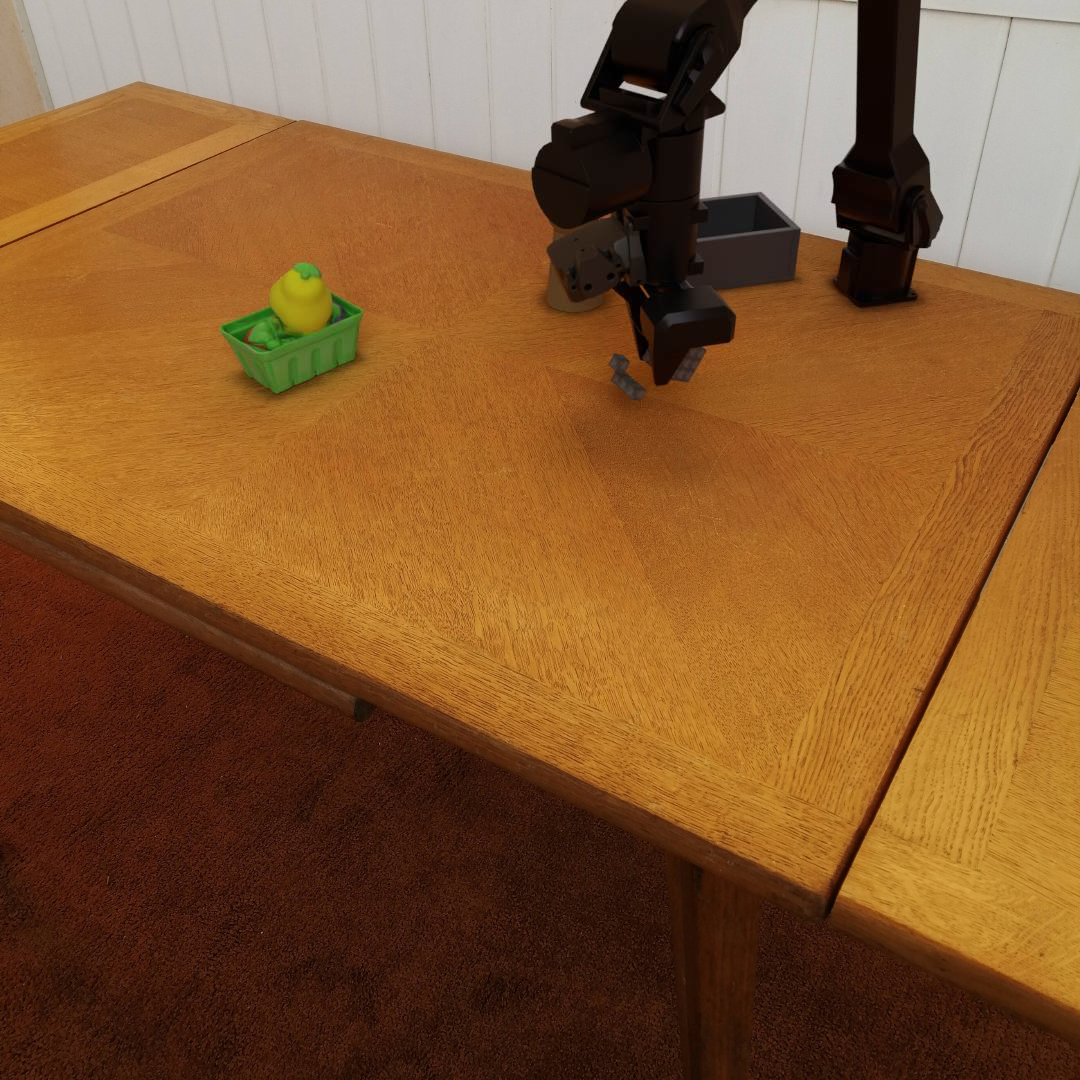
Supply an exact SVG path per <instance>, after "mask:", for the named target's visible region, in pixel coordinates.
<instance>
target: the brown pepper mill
mask: <svg viewBox="0 0 1080 1080" xmlns="http://www.w3.org/2000/svg"><path fill="white" fill-rule="evenodd" d="M600 219H601V218H599V219H596V220H594V221H591V222H589V223H586V224H584V225H581V226H579V227H576V228H573V229H570V230H569V229H562V228H559V227H557V226H556V225H555V224H553V223H552V222H551V221H550V220H549V219H548V222H549V224H550V225H551V227H552V229H553V231H552V242H554V241H556V240H558V239H560V238H562V237H564V236H566V235H568V234H570V233H572V232H574V231H576V230H578V229H580V228H582V227H584V226H586V225H589V224H591V223H594V222H598V221H599V220H600ZM552 242H551V243H552ZM547 278H548V279H547V286H546V287H547V288H546V297H545V302H546V303H547V305H548V306H549V307H551V308H552V309H554V310H557V311H559V312H566V313H582V312H588V311H591V310H594V309H596V308H598V307H600V306H601V305H602V304H603V302H604V300H605V296H604V293H602V294H600V295H598V296H596V297H594V298H591V299H590V298H589V299H587V300H585V301H582V302H579V303H573V302H570V301H569V299H568V297H567V295H566V293H565V291H564V289H563V288H562V286H561V284H560V282H559V279H558V277H557V275H556V272H555V270H554V268H553V265H552V263H551V261H550V260H549V269H548V277H547Z"/></svg>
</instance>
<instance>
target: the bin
mask: <svg viewBox="0 0 1080 1080" xmlns="http://www.w3.org/2000/svg"><path fill="white" fill-rule="evenodd" d="M700 200H701V201H702V203H703V204H704V205H705V206H706V207H707V208H708V219H707V222H704V223H698V230H697V244H696V252H697V253H698V255H699V256H700V257H701V258H702V260H703V261H704V271H703V274H699V275H692V276H687V280H686V281H687V282H688V284H689V285H690V286H691V287H701V286H708V285H709V286H711V287H712V288H713V289H714V290H715V291H721V290H729V289H735V288H743V287H744V288H745V287H749V286H750V287H751V286H758V285H765V284H773V283H780V282H788V281H794V280H795V276H796V275H795V274H796V269H797V262H798V254H799V248H800V247H799V246H800V239H801V234H802V228H801V227H800V226H799V225H798V224H797V223H795V222H794V221H793V220H792V218H790V217H789V215H788V214H786V213H785V212H784V211H783V210H782V209H781V208H780V207H778V205H776V204H775V203H774V202H773V201H772V200H771V199H770V198H769V197H768V196H767V195H765V194H764V192H762V191H755V192H747V193H738V194H729V195H720V196H713V197H705V198H700Z"/></svg>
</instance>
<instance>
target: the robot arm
mask: <svg viewBox="0 0 1080 1080" xmlns="http://www.w3.org/2000/svg"><path fill="white" fill-rule="evenodd" d="M758 1H759V0H626V1H624V2H623V4H622V5H621V7H620V8H619V9H618V11H617V12H616V14H615V16H614V19H613V21H612V23H611V30H610V33H609V35H608V37H607V39H606V42H605V44H604V46H603V49H602V50H601V52H600V55H599V57H598V59H597V62H596V64H595V66H594V68H593V71H592V73H591V75H590V78H589V80H588V82H587V84H586V87H585V89H584V91H583V93H582V96H581V98H580V101H579V105H580V108H582V109H585V110H588V111H591V113H587V114H584V115H582V116H579V117H575V118H563V119H559V120H556V121H554V122H552V123H551V126H550V141H549V142H547V143H545V144H544V145H542V146H541V148H540V149H539V150H538V152H537V154H536V155H535V158H534V164H533V166H532V167H531V169H530V170H531V171H530V173H531V174H530V175H531V185H532V190H533V195H534V197H535V199H536V202H537V204H538V207H539V208H540V210H541V211H542V213H543V214H544V216H545V217H546V218H547V219H548V221H549V220H550V221H551V222H552V223H553V224H555V225H556V226H557V227H559V228H562V229H569V230H570V229H573V228H576V227H579V226H581V225H584V224H586V223H589V222H591V221H594V220H596V219H599V218H600V219H599V221H598V222H594V223H591V224H589V225H586V226H584V227H582V228H580V229H578V230H576V231H574V232H572V233H570V234H568V235H566V236H564V237H562V238H560V239H558V240H556V241H554V242H551V243H549V244H548V246H547V247H546V254H547V256H548V258H549V262H550V261H551V263H552V265H553V268H554V270H555V272H556V275H557V277H558V279H559V282H560V284H561V286H562V288H563V289H564V291H565V293H566V295H567V297H568V299H569V301H570V302H573V303H579V302H582V301H585V300H587V299H589V298H590V299H591V298H594V297H596V296H598V295H600V294H602V293H603V294H605V293H606V292H608V291H611V290H612V291H614V292H615V293H617V294H618V295H619V296H620V297H621V298H622V299H623V300H624V302H625V305H626V309H627V314H628V317H629V322H630V326H631V330H632V336H633V339H634V343H635V347H636V352H637V356H638V359H639V360H640V362H644V361H643V360H642V358H643V356H644V354H645V352H646V350H647V349H648V347H649V351H650V359H651V367H650V368H651V374H652V379H653V384H654V385H655V387H662V386H666V385H668V384H669V383H670V382H671V381H672V380H671V378H672V377H673V375H674V374H675V372H676V371H677V369H678V367H679V366H680V364H681V363H682V361H683V360H684V358H685V356H686V355H687V353H688V352H689V350H690V349H691V348H697V347H703V348H705V347H710V346H716V345H724V344H730V343H731V342H732V341H733V340H734V339H735V334H736V324H737V323H736V322H737V314H736V313H735V312H734V310H733V309H732V308H731V307H730V305H729V304H728V303H727V301H726V300H725V299H724V298H723V297H722V295H720V293H718V292H717V290H714V289H713V288H712V287H711V286H709V285H708V286H701V287H691V286H690V285H689V284H688V282H687V281H686V280H687V276H692V275H699V274H703V271H704V261H703V260H702V258H701V257H700V256H699V255H698V253H697V252H696V244H697V230H698V223H704V222H707V219H708V208H707V207H706V206H705V205H704V204H703V203H702V201H701V200H700V199H701V183H702V169H703V168H702V167H703V154H704V143H705V142H704V141H705V128H706V127H705V126H706V120H709V119H712V118H715V117H718V116H720V115H723V114H724V113H725V112H726V109H727V108H726V107H727V105H726V103H725V102H724V101H722V99H721V98H719V96H717V95H716V94H715V93H714V92H713V90H712V89H713V88H714V86H715V85H716V84H717V82H718V81H719V79H720V77H722V75H723V74H724V72H725V70H726V69H727V67H728V66H729V64H730V63H731V62H732V60H733V59H734V57H735V55H736V54H737V53H738V51H739V49H740V48H741V46H742V38H743V30H744V23H745V22H744V21H745V20H746V18H747V16H748V15H749V13H750V11H751V10H752V8H753V7H754V6H755V5H756V3H757V2H758ZM856 3H857V4H856V18H857V19H856V71H855V72H856V73H855V74H856V76H855V77H856V79H855V81H856V82H855V84H856V85H855V138H854V143H853V145H852V146H851V147H850V149H849V150H848V152H847V153H846V155H844V157H843V159H842V160H841V162H840V163H838V164H836V165H835V166H834V167H833V169H832V171H831V179H832V195H831V198H830V203H831V204H833V205H834V209H835V222H836V224H835V225H836V228H837V229H840V230H845V231H849V232H848V236H847V243H846V245H844V246H843V247H842V249H841V255H840V261H839V266H838V270H837V271H838V272H837V275H834V276H833V277H832V282H833V284H834V285H836V286H837V288H839V289H840V291H842V292H843V293H844V294H845V296H847V297H848V299H850V300H851V301H852V303H854V304H855V305H856V306H858V307H860V308H867V307H875V306H883V305H888V304H889V305H890V304H895V303H896V304H897V303H903V302H910V301H916V300H918V297H919V293H918V292H917V291H915V289H913V288H912V287H911V286H912V282H913V278H914V273H915V269H916V264H917V260H918V255H919V251H920V250H921V249H929V248H931V247H932V242H933V240H935V239H936V238H937V236H938V233H939V232H940V229H941V225H942V223H943V221H944V214H943V213H942V211H941V208H940V206H939V204H938V202H937V200H936V198H935V196H934V194H933V192H932V190H931V189H932V183H931V181H932V180H931V163H930V159H929V157H928V155H927V154H926V152H925V150H924V149H923V147H922V145H921V143H920V142H919V140H918V138H917V137H916V135H915V131H914V124H915V112H916V111H915V110H916V109H915V108H916V91H917V75H918V59H919V57H918V56H919V40H920V26H921V24H920V23H921V10H922V9H921V8H922V0H857V2H856ZM624 82H625V83H626V84H629V85H632V86H635V87H639V88H643V89H647V90H650V91H654V92H656V93H661V94H664V95H663V96H661V97H658V98H657V97H654V96H650V95H647V94H643V93H640V92H636V91H634V90H633V91H632V90H629V89H626V88H623V87H621V86H622V85H623V84H624ZM609 215H610V216H609ZM606 216H608V217H606Z"/></svg>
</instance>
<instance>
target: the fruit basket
mask: <svg viewBox="0 0 1080 1080" xmlns="http://www.w3.org/2000/svg"><path fill="white" fill-rule="evenodd" d="M322 276H323V274H322V272H321V270H320V269H319V268H318V266H317V265H316V264H313V263H309V262H307V261H301V262H297V263H296V264H293V266H292V268H291V269H290V270H288V271H287V272H286V273H285V274H284V275H282V276H281V277H279V278H278V280H277V281H276V282H275V283H274V284H273V285H271V288H270V290H269V295H268V305H269V306H266V307H264V308H261V309H259V310H256V311H254V312H252V313H249V314H247V315H243V316H241V317H239V318H237V319H234V320H231V321H229V322H226V323H223V324H221V326H220V327H219V332H220V334H221V335H222V336H223V338H224V340H225V341H227V342H228V344H229V346H230V348H231V349H232V352H233V353H234V355H235V356H236V358H237V360H238V362H239V363H240V365H241V367H242V369H243V370H244V372H245V374H246V375H247V376H248V377H249V378H253V379H254V381H255V382H257V383H259V384H260V385H261V386H263V387H264V388H266V389H268V390H269V389H270V390H271V392H272V393H274V394H275V395H276V394H280V393H282V392H285V391H286V390H289V389H291V388H292V387H294V386H296V385H300V384H302V383H305V382H307V381H309V380H311V379H313V378H315V376H319V375H323V374H324V373H327V372H330V371H331V370H333V369H335V368H337V366H342V365H345V364H347V363H349V362H351V361H353V360H355V358H356V351H357V346H358V345H357V344H358V339H359V338H358V337H359V332H360V323H361V322H362V319H363V313H364V310H363V309H362V308H361V307H359V306H356V305H355V304H353V303H352V302H350V301H348V300H346V299H344V298H343V297H341V296H339V295H337V294H335V293H334V292H332V291H331V290H330V288H329V285H327V283H326V282H325V281H324V280H323V278H322Z"/></svg>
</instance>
